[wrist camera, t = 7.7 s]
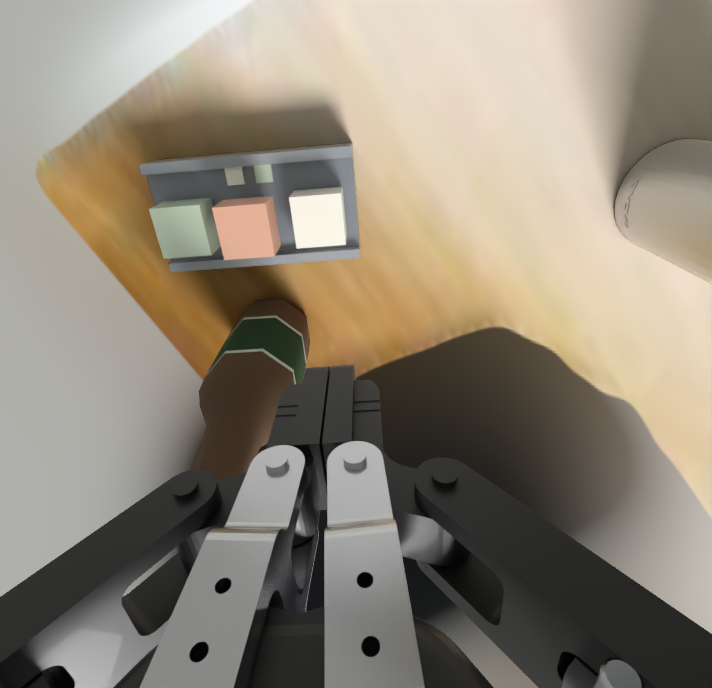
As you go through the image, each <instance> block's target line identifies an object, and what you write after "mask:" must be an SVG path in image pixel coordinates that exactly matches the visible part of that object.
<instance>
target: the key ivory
mask: <svg viewBox="0 0 712 688" xmlns="http://www.w3.org/2000/svg"><path fill="white" fill-rule="evenodd" d="M289 202H290V208H291V215H292V222H293V228H294V235H295V242H296V248H297V249H299V248H312V247H325V246H338V245H346V238H347V231H346V220H345V209H344V198H343V188H342V187H331V188H319V189H307V190H295V191H293V193H292V194H291V195H290V197H289Z"/></svg>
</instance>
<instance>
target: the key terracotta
mask: <svg viewBox="0 0 712 688" xmlns="http://www.w3.org/2000/svg"><path fill="white" fill-rule="evenodd" d="M212 211H213V215H214V219H215V223H216V228H217V232H218V236H219V240H220V245H221V249H222V253H223V257H224V260H233V259H246V258H259V257H272V256H275V255H276V253H277V251H278V250H279V248H280V246H281V243H280V237H279V231H278V225H277V219H276V213H275V207H274V201H273V196H264V197H252V198H240V199H228V200H222V201H221V202H219V203H218V204H217V205H215V206H214V207H212Z"/></svg>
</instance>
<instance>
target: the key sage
mask: <svg viewBox="0 0 712 688" xmlns="http://www.w3.org/2000/svg"><path fill="white" fill-rule="evenodd" d="M212 207H213V205H212V200H211V198H200V199H188V200H176V201H164V202H162V203H160V204H158V205H156V206H154V207H152V208H150V209H149V212H150V215H151V218H152V222H153V225H154V228H155V232H156V235H157V238H158V241H159V245H160V248H161V251H162V255H163V258H164V259H169V258H182V257H195V256H208V255H212V254H213V253H214V252H215V251H216V250H217V249H218V248H219V247H220V246H221V245H220V240H219V236H218V232H217V228H216V223H215V219H214V215H213V211H212Z"/></svg>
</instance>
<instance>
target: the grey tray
mask: <svg viewBox="0 0 712 688" xmlns="http://www.w3.org/2000/svg"><path fill="white" fill-rule="evenodd" d="M139 168H140V171H141V175H147V179H148V182H149V186H150V189H151V192H152V196H153V199H154V203H155V206H156V205H158V204H160V203H162V202H164V201H176V200H188V199H200V198H211V200H212V205H213V207H214V206H215V205H217V204H218V203H219V202H221V201H222V200H228V199H240V198H252V197H264V196H273V201H274V207H275V213H276V219H277V225H278V231H279V237H280V243H281V246H280V248H279V250H278V251H277V253H276V255H275V256H272V257H259V258H246V259H233V260H224V257H223V253H222V249H221V246H220V247H219V248H218V249H217V250H216V251H215V252H214V253H213V254H212V255H208V256H195V257H182V258H171V260H172V261H171V262H170V263H169V268H170V271H171V272H182V271H195V270H208V269H222V268H235V267H248V266H262V265H275V264H288V263H301V262H315V261H328V260H341V259H355V258H360V239H359V226H358V213H357V200H356V187H355V174H354V161H353V148H352V143H343V144H331V145H320V146H309V147H297V148H286V149H274V150H263V151H252V152H240V153H229V154H218V155H206V156H195V157H184V158H172V159H161V160H154V161H150V162H147V163H143V164H139ZM331 187H342V188H343V198H344V209H345V220H346V231H347V238H346V245H338V246H325V247H312V248H299V249H297V248H296V242H295V235H294V228H293V222H292V215H291V208H290V202H289V197H290V195H291V194H292V193H293V191H295V190H307V189H319V188H331Z"/></svg>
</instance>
